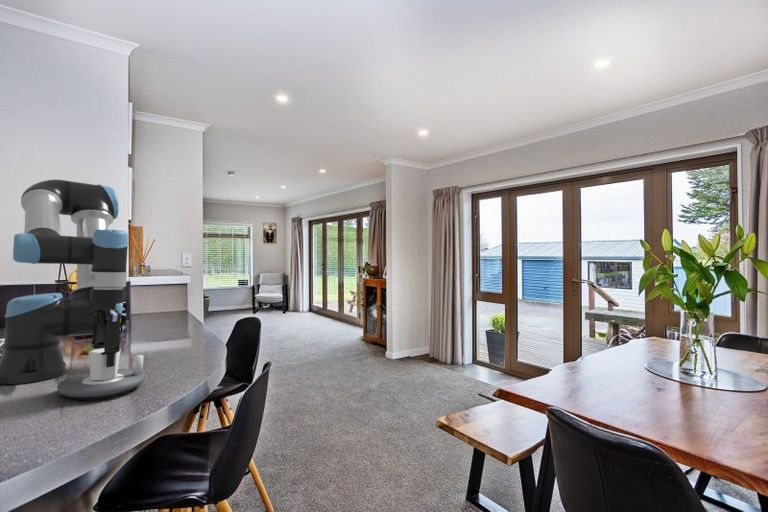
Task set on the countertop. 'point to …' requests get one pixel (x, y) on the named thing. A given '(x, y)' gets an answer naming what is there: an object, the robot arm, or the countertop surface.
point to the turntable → (103, 382)
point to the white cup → (99, 363)
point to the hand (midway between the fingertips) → (103, 375)
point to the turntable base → (101, 396)
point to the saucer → (89, 348)
